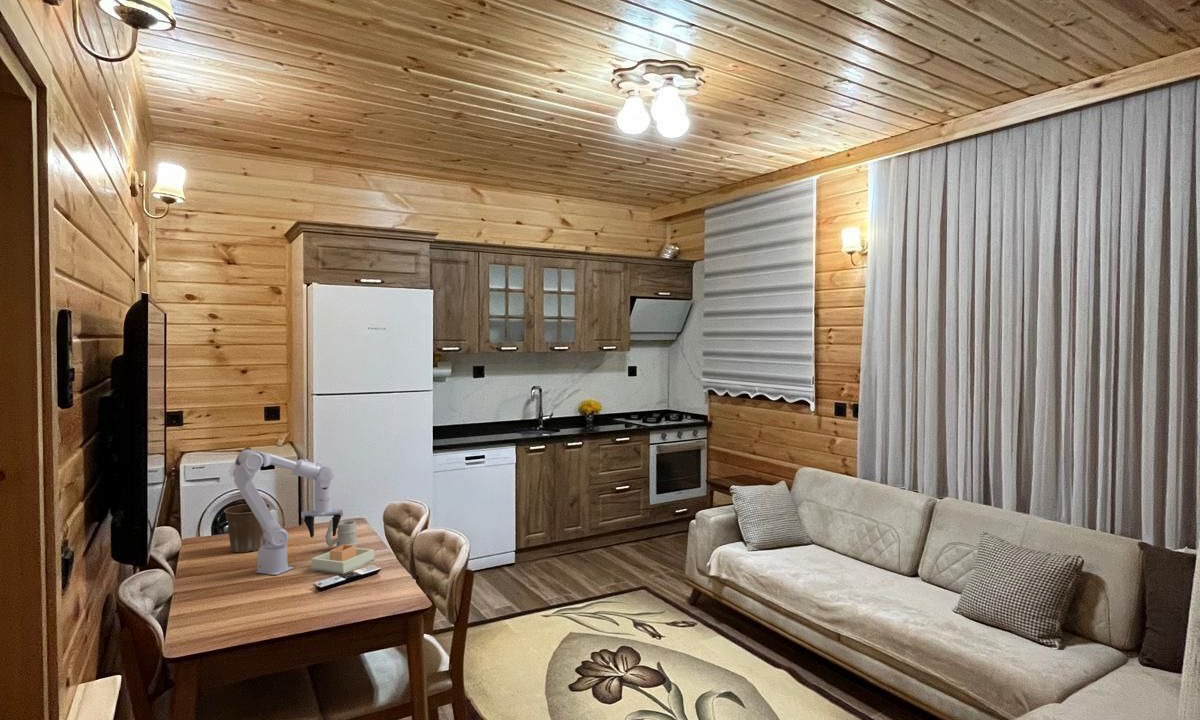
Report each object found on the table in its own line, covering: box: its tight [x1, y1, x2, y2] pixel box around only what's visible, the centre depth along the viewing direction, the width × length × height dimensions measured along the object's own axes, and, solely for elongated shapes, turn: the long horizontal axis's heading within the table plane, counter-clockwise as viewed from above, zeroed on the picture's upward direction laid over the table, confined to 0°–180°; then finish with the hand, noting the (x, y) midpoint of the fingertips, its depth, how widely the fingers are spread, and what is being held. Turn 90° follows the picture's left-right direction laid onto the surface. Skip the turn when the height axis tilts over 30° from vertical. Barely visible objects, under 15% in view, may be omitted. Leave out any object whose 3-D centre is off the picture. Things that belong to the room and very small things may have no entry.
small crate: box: [329, 545, 357, 562], centre depth 243 cm, size 5×8×6 cm, turn 165°
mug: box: [325, 519, 358, 549], centre depth 263 cm, size 8×12×12 cm, turn 125°
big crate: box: [310, 547, 375, 575], centre depth 243 cm, size 14×16×4 cm
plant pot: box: [223, 503, 271, 553], centre depth 264 cm, size 16×16×16 cm
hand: (323, 535), depth 248 cm, fingers open, 7 cm apart
